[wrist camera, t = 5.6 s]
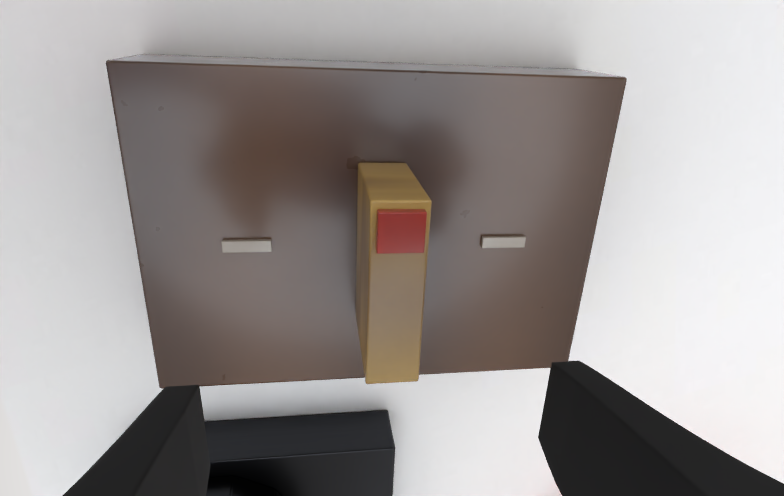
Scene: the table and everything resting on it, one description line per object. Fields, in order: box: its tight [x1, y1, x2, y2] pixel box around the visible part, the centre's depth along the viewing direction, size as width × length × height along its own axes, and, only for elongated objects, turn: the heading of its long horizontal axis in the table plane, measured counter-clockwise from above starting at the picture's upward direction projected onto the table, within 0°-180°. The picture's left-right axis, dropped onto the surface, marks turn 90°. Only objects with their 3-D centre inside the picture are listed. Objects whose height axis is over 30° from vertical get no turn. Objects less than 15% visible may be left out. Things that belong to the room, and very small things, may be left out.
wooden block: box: [356, 163, 432, 384], centre depth 14 cm, size 5×1×4 cm, turn 177°
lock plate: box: [106, 54, 627, 388], centre depth 17 cm, size 14×10×3 cm
